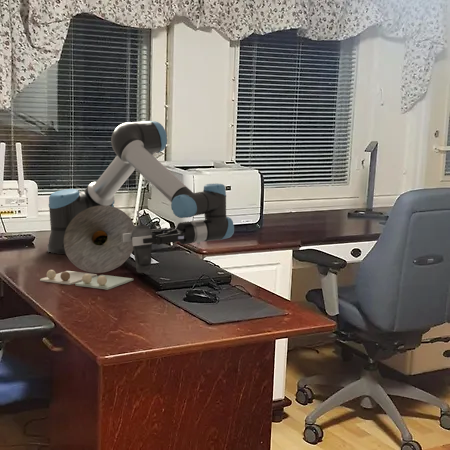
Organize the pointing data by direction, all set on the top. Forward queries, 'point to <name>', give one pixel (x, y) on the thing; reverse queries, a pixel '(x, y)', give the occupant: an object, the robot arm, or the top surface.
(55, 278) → the cream card
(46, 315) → the top surface
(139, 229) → the beverage cup
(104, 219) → the disc
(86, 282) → the sage card
